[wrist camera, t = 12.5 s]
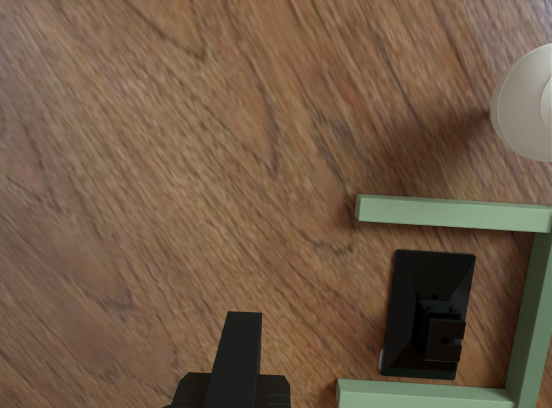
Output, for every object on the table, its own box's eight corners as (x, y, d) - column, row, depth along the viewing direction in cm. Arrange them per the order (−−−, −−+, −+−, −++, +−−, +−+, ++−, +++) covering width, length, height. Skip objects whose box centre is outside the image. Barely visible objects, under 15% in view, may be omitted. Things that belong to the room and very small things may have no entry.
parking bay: (356, 193, 36) (361, 198, 33) (558, 206, 36) (577, 212, 33) (335, 396, 40) (338, 413, 37) (516, 407, 40) (531, 426, 37)
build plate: (452, 377, 39) (475, 411, 35) (376, 372, 39) (389, 405, 35) (474, 254, 37) (502, 273, 32) (393, 248, 37) (409, 267, 32)
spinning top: (459, 163, 35) (549, 184, 23) (444, 72, 34) (532, 46, 22) (550, 140, 35) (688, 151, 23) (539, 47, 33) (681, 7, 21)
